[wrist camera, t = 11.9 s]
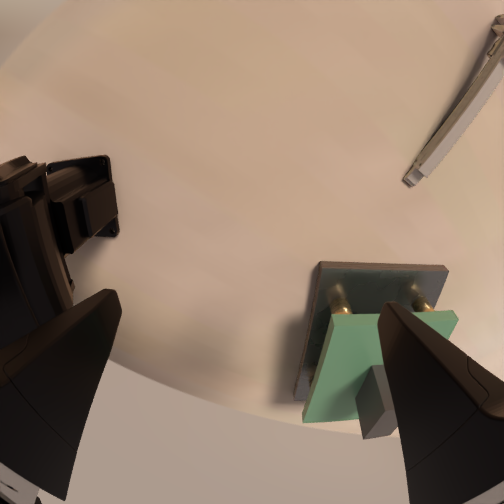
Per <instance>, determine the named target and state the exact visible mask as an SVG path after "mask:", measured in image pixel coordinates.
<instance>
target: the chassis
mask: <svg viewBox="0 0 504 504" xmlns="http://www.w3.org/2000/svg"><path fill="white" fill-rule="evenodd" d="M448 273H449V270H448V269H447V268H446V267H445V266H444V265H416V264H385V263H355V262H327V261H320V266H319V272H318V278H317V284H316V290H315V295H314V301H313V306H312V311H311V317H310V322H309V327H308V332H307V337H306V341H305V346H304V351H303V355H302V360H301V364H300V368H299V373H298V377H297V381H296V385H295V389H294V393H293V395H294V401H302V400H307V397H308V394H309V391H310V388H311V385H312V382H313V379H314V375H315V372H316V369H317V365H318V362H319V359H320V355H321V352H322V348H323V345H324V341H325V337H326V334H327V330H328V326H329V322H330V318H331V314H380V313H381V310H382V307H383V305H384V303H385V302H397V303H399V304H400V305H402V306H403V307H404V308H406V309H407V310H408V311H410V312H411V313H414V312H433V311H434V307H435V305H436V303H437V300H438V298H439V296H440V293H441V291H442V288H443V286H444V283H445V281H446V278H447V275H448Z"/></svg>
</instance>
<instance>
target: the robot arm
mask: <svg viewBox="0 0 504 504" xmlns="http://www.w3.org/2000/svg"><path fill="white" fill-rule="evenodd" d="M102 159H103V160H104V161H105V164H103V163H102ZM51 167H52V170H51ZM46 172H47V176H46ZM117 214H118V209H117V203H116V195H115V188H114V183H113V182H112V173H111V164H110V158H109V157H108V156H107V155H99V156H91V157H83V158H76V159H70V160H64V161H57V162H52V163H50V164H48V165H47V167H46V163H41V164H37V162H36V163H32V162H30V161H29V160H28V159H27V157H26V156H21V157H18V158H15V159H12V160H10V161H7V162H5V163H3V164H1V165H0V504H42V503H41V501H40V498H39V497H37V494H38V491H39V488H41V489H42V490H44V491H46V492H48V493H50V494H51V495H53V496H55V497H57V498H59V499H61V500H63V501H65V500H66V496H67V491H68V487H69V482H70V478H71V474H72V470H73V466H74V462H75V458H76V454H77V450H78V447H79V443H80V440H81V436H82V433H83V430H84V426H85V423H86V420H87V417H88V414H89V410H90V407H91V404H92V402H93V399H94V396H95V393H96V390H97V387H98V384H99V381H100V379H101V376H102V373H103V371H104V368H105V365H106V363H107V360H108V358H109V355H110V352H111V349H112V346H113V342H114V339H115V335H116V332H117V328H118V325H119V322H120V318H121V315H122V308H121V305H120V301H119V298H118V294H117V292H116V291H115V290H113V289H103V290H101V291H100V292H98V293H96V294H94V295H93V296H91V297H89V298H87V299H86V300H84V301H82V302H80V303H79V304H77V305H75V306H73V291H74V288H75V286H74V283H73V280H72V279H71V278H70V275H69V272H68V268H67V265H66V262H65V259H64V258H65V257H66V256H67V255H69V254H73V253H74V252H75V251H76V250H77V249H78V248H79V247H80V246H82V245H83V244H84V243H85V242H86V241H87V240H88V239H89V238H92V237H93V236H99V237H115V236H116V235H117V234H118V233H119V224H118V218H117ZM112 228H113V229H114V231H115V232H113V231H112ZM72 306H73V307H72ZM377 328H378V334H379V340H380V346H381V352H382V358H383V364H384V368H385V372H386V376H387V380H388V384H389V388H390V392H391V397H392V401H393V405H394V410H395V414H396V419H397V424H398V429H399V434H400V439H401V445H402V451H403V456H404V462H405V469H406V477H407V485H408V493H409V501H410V504H504V382H503V381H502V380H501V379H499V378H498V377H496V376H495V375H493V374H492V373H490V372H489V371H488V370H486V369H485V368H484V367H482V366H481V365H480V364H478V363H477V362H476V361H474V360H473V359H472V358H471V357H469V356H467V354H465V353H464V352H463V351H462V350H460V349H459V348H458V347H456V346H455V345H454V344H453V343H451V342H450V341H449V340H447V339H446V338H445V337H443V336H442V335H441V334H439V333H438V332H437V331H435V330H434V329H433V328H431V327H430V326H429V325H427V324H426V323H425V322H423V321H422V320H421V319H419V318H418V317H417V316H415V315H414V314H413V313H411V312H410V311H408V310H407V309H406V308H404V307H403V306H402V305H400V304H399V303H397V302H385V303H384V305H383V307H382V310H381V313H380V316H379V318H378V322H377Z"/></svg>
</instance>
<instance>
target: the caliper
mask: <svg viewBox="0 0 504 504" xmlns="http://www.w3.org/2000/svg"><path fill="white" fill-rule="evenodd" d="M496 19H497V21H498V22H499V23H500V24H501V25H492V27H491V28H492V30H493V31H494V32H495V33H496V35H497V36H498V37H501V38H499V39H498V40H497V41H496V42H495V43H494V45H493V47H492V49H491V50H490V51H489V52H488V53H487V55H488V57H489V58H490V59H489V61H488V62H487V64H486V65H485V67H484V68H483V70H482V71H481V73H480V74H479V76H478V77H477V79H476V80H475V81H474V83H473V84H472V86H471V87H470V89H469V90H468V91H467V93H466V94H465V95H464V97H463V98H462V100H461V101H460V102H459V104H458V105H457V106H456V108H455V109H454V110H453V112H452V113H451V114H450V116H449V117H448V118H447V119H446V121H445V122H444V123H443V125H442V126H441V127H440V128H439V130H438V131H437V132H436V134H435V135H434V136H433V137H432V139H431V140H430V141H429V142H428V144H427V145H426V146H425V147H424V148H423V150H422V151H421V153H420V154H419V156H418V157H417V159H416V160H415V162H414V163H413V165H414V166H413V167H412V168H411V169H410V171H409V172H408V173H407V174H406V175H405V177H404V180H405V181H406V182H407V183H408V184H409V185H410V186H411V187H413V186H414V185H416V184H417V183H418V182H419V181H420V180H421V179H422V178H423V176H425V177H426V178H427V177H428V176H429V175H430V174H431V173H432V171H433V170H434V169H435V168H436V167H437V166H438V164H439V163H440V162H441V161H442V160H443V158H444V157H445V156H446V155H447V153H448V152H449V151H450V150H451V148H452V147H453V146H454V145H455V143H456V142H457V141H458V140H459V138H460V137H461V136H462V134H463V133H464V132H465V131H466V129H467V128H468V127H469V125H470V124H471V123H472V121H473V120H474V118H475V117H476V116H477V114H478V113H479V112H480V110H481V109H482V107H483V106H484V105H485V103H486V102H487V100H488V99H489V97H490V96H491V95H492V93H493V92H494V90H495V89H496V87H497V86H498V84H499V83H500V81H501V80H502V78H503V76H504V14H502V15H498V16H497V17H496Z"/></svg>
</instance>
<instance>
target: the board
mask: <svg viewBox="0 0 504 504" xmlns="http://www.w3.org/2000/svg"><path fill="white" fill-rule="evenodd" d="M413 314H414V315H415V316H417V317H418V318H419V319H421V320H422V321H423V322H425V323H426V324H427V325H429V326H430V327H431V328H433V329H434V330H435V331H437V332H438V333H439V334H441V335H442V336H443V337H445V338H446V339H447V340H448V339H449V337H450V335H451V333H452V331H453V330H454V328H455V326H456V324H457V322H458V320H459V319H458V317H457V316H456V314H455V313H454V311H453V310H448V311H433V312H414V313H413ZM379 316H380V314H331V318H330V322H329V326H328V330H327V334H326V337H325V341H324V345H323V348H322V352H321V355H320V359H319V362H318V365H317V369H316V372H315V375H314V379H313V382H312V385H311V388H310V391H309V394H308V397H307V400H306V403H305V406H304V409H303V412H302V420H303V423H315V422H332V421H344V420H354V419H359V421H360V426H361V431H362V436H363V439H370V438H376V437H382V436H388V435H391V434H392V432H393V431H394V430H395V429H396V428H397V427H398V424H397V419H396V414H395V410H394V405H393V401H392V397H391V392H390V388H389V384H388V380H387V376H386V372H385V368H384V364H383V358H382V352H381V346H380V340H379V334H378V328H377V322H378V318H379Z"/></svg>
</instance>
